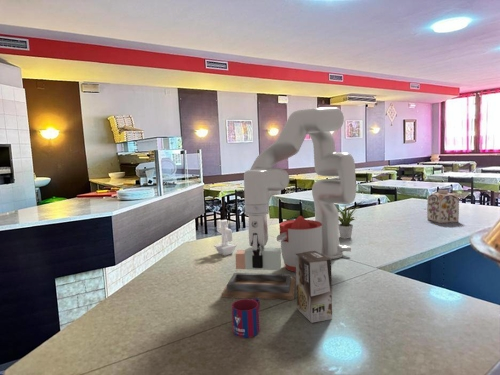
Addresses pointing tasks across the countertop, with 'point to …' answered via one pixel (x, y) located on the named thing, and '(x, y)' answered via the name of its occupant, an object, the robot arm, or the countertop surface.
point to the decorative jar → (443, 207)
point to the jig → (260, 286)
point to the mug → (246, 317)
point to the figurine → (225, 238)
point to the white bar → (269, 259)
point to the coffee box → (314, 286)
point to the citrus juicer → (299, 239)
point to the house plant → (346, 223)
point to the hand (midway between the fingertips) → (258, 264)
